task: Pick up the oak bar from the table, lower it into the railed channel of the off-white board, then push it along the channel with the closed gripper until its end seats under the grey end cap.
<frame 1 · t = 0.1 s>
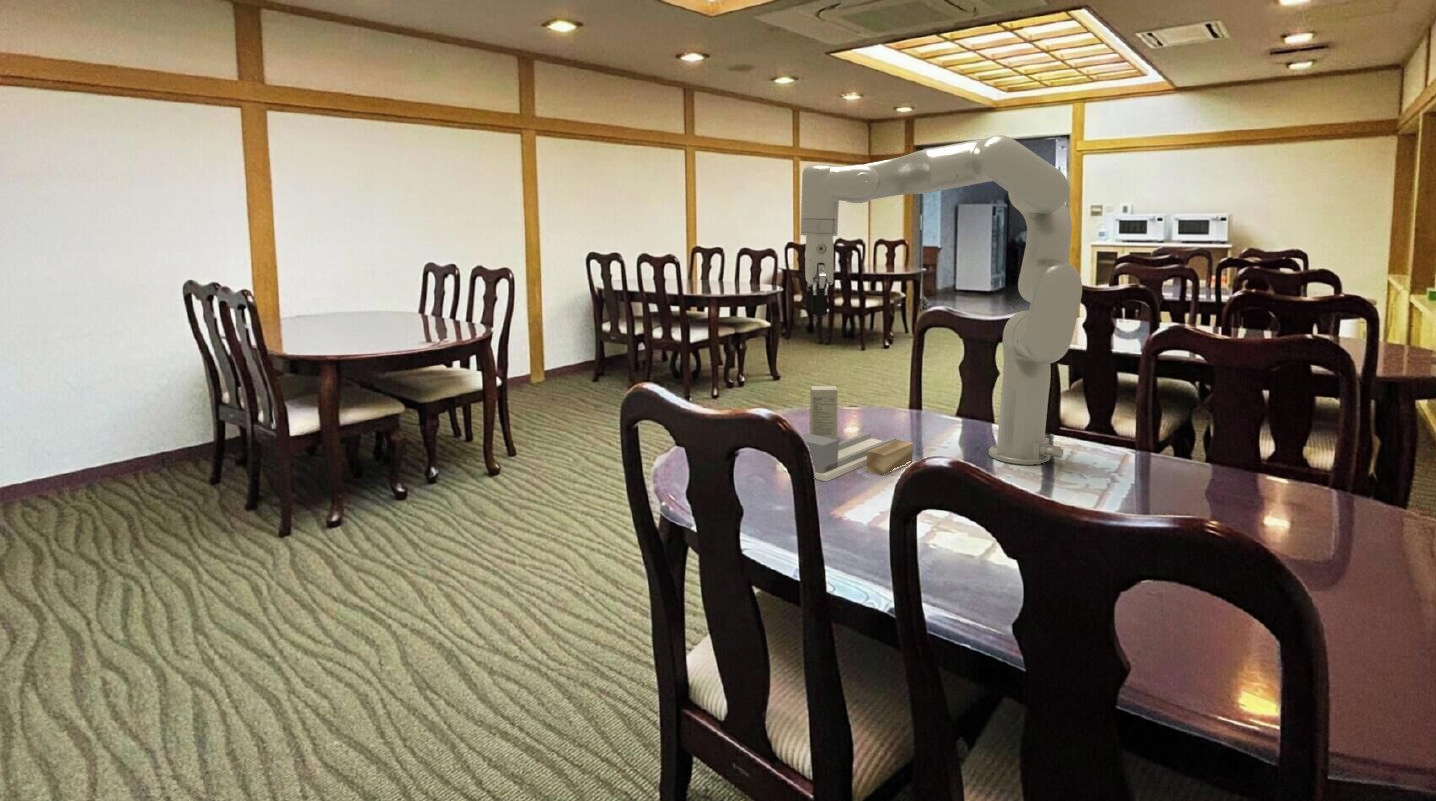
hand: (816, 311, 178), 31 cm above the table, tool pointing down, fingers open, 9 cm apart
board: (845, 460, 182), on the table
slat: (889, 468, 178), on the table
skincare box: (822, 439, 199), on the table
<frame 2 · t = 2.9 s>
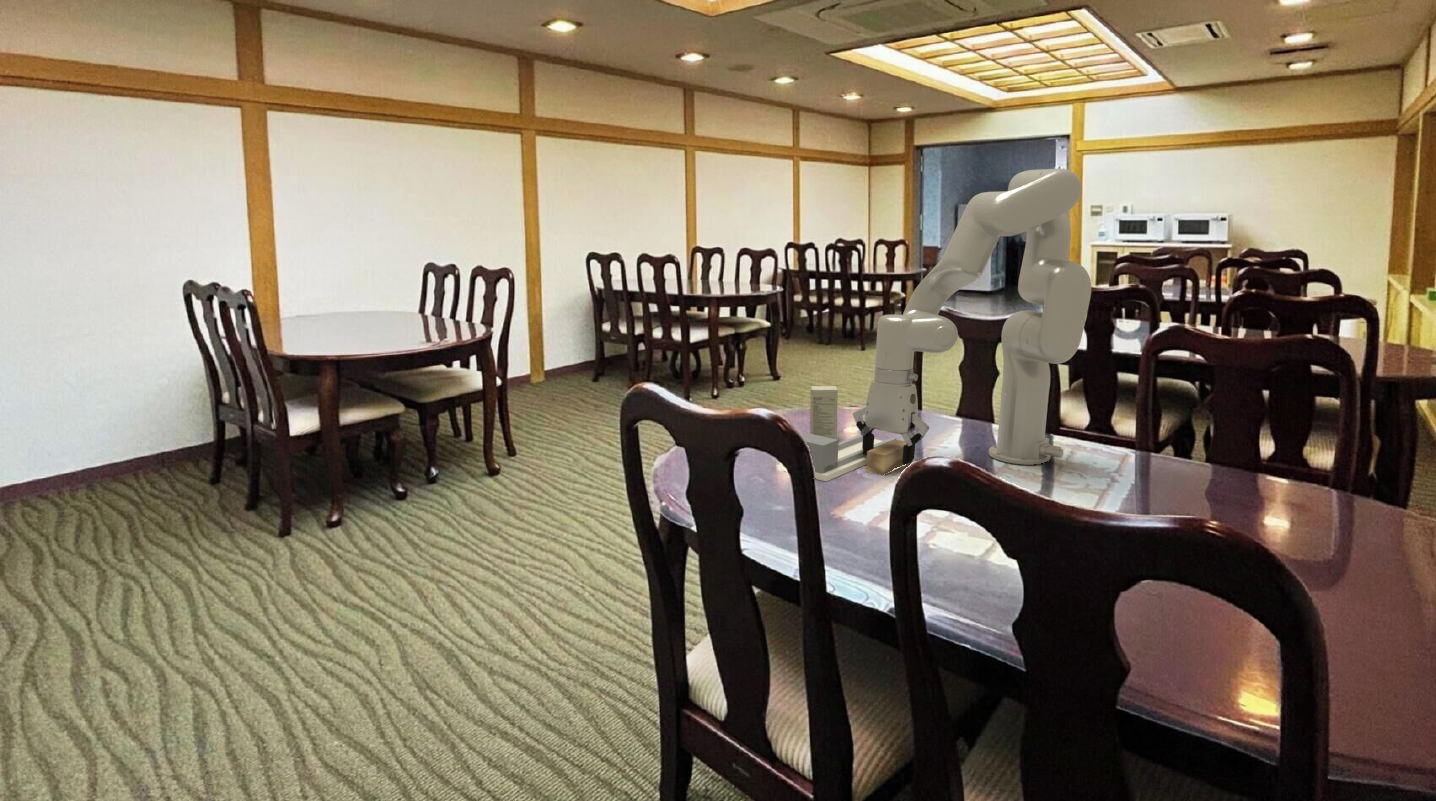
hand: (887, 458, 177), 2 cm above the table, tool pointing down, fingers open, 8 cm apart
nothing on the table moved.
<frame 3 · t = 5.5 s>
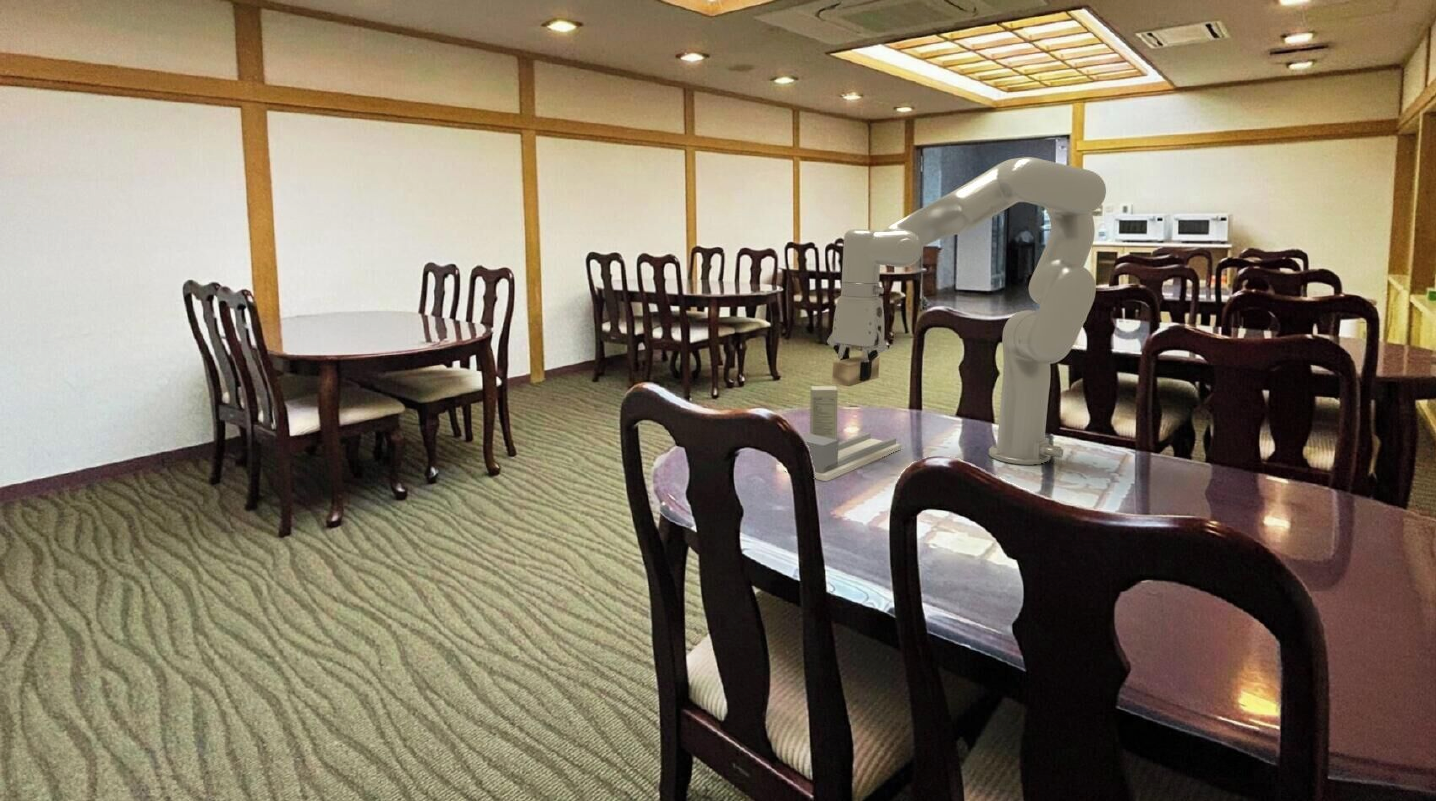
hand: (855, 377, 179), 18 cm above the table, tool pointing down, fingers closed on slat, 4 cm apart
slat: (855, 380, 180), point 17 cm above the table, touching gripper
everything else where it was.
when the fingers open (3 cm above the table, at t = 7.5 s): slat drops 1 cm, resting on board.
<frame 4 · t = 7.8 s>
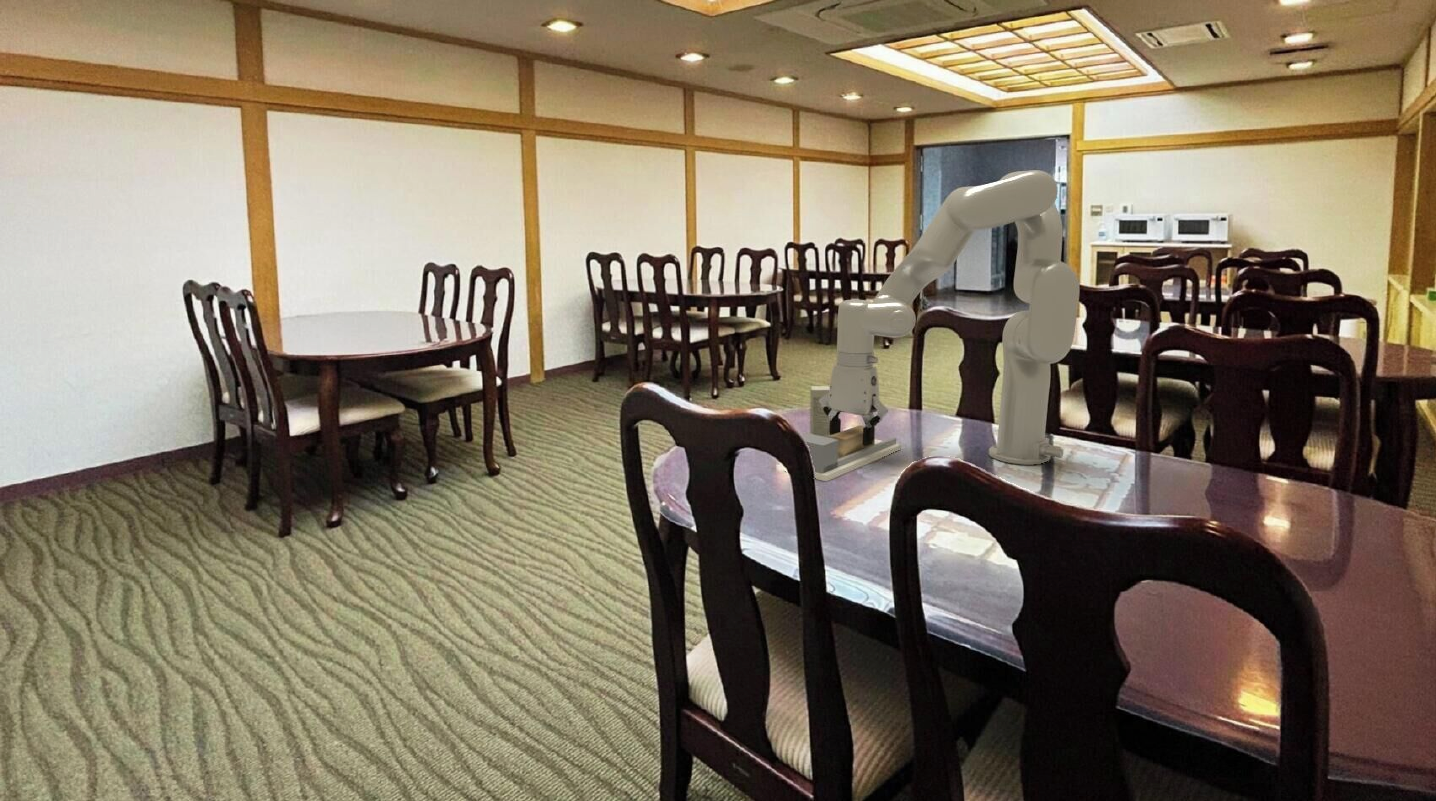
hand: (851, 440, 183), 4 cm above the table, tool pointing down, fingers open, 7 cm apart
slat: (851, 452, 184), point 1 cm above the table, touching board
everything else where it was.
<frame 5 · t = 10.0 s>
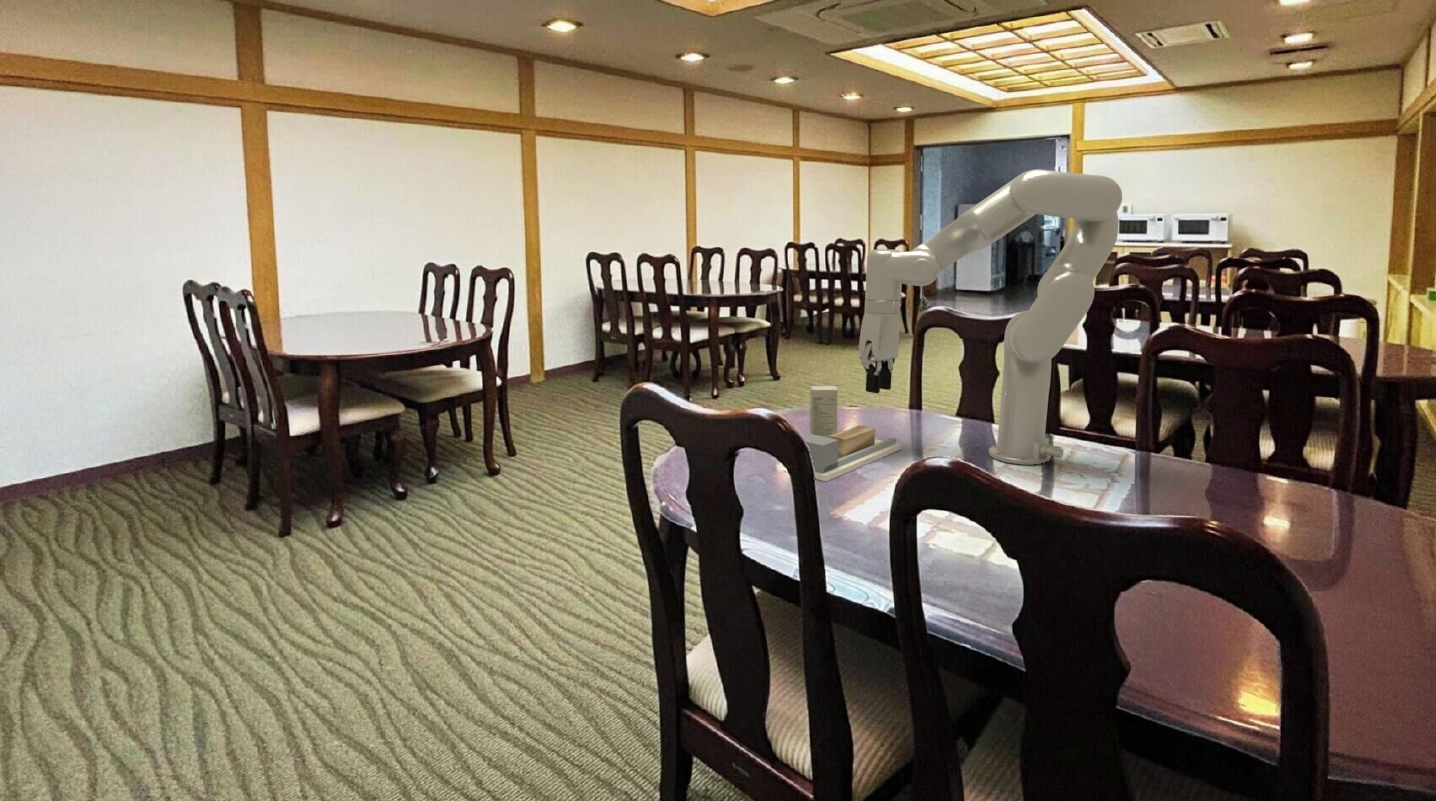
hand: (878, 389, 188), 13 cm above the table, tool pointing down, fingers open, 4 cm apart
nothing on the table moved.
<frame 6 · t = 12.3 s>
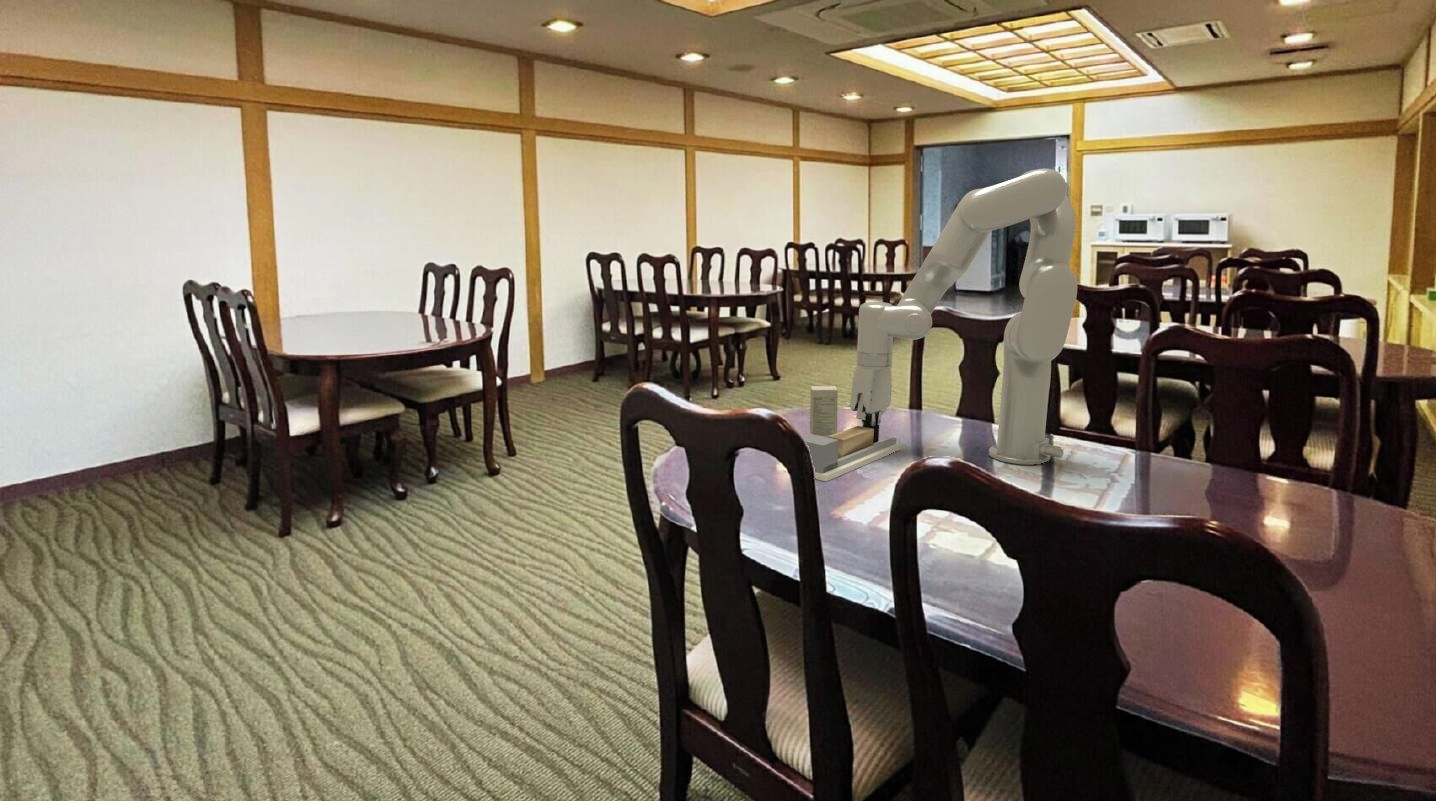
hand: (870, 441, 189), 2 cm above the table, tool pointing down, fingers closed
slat: (850, 452, 183), point 1 cm above the table, touching gripper
everything else where it was.
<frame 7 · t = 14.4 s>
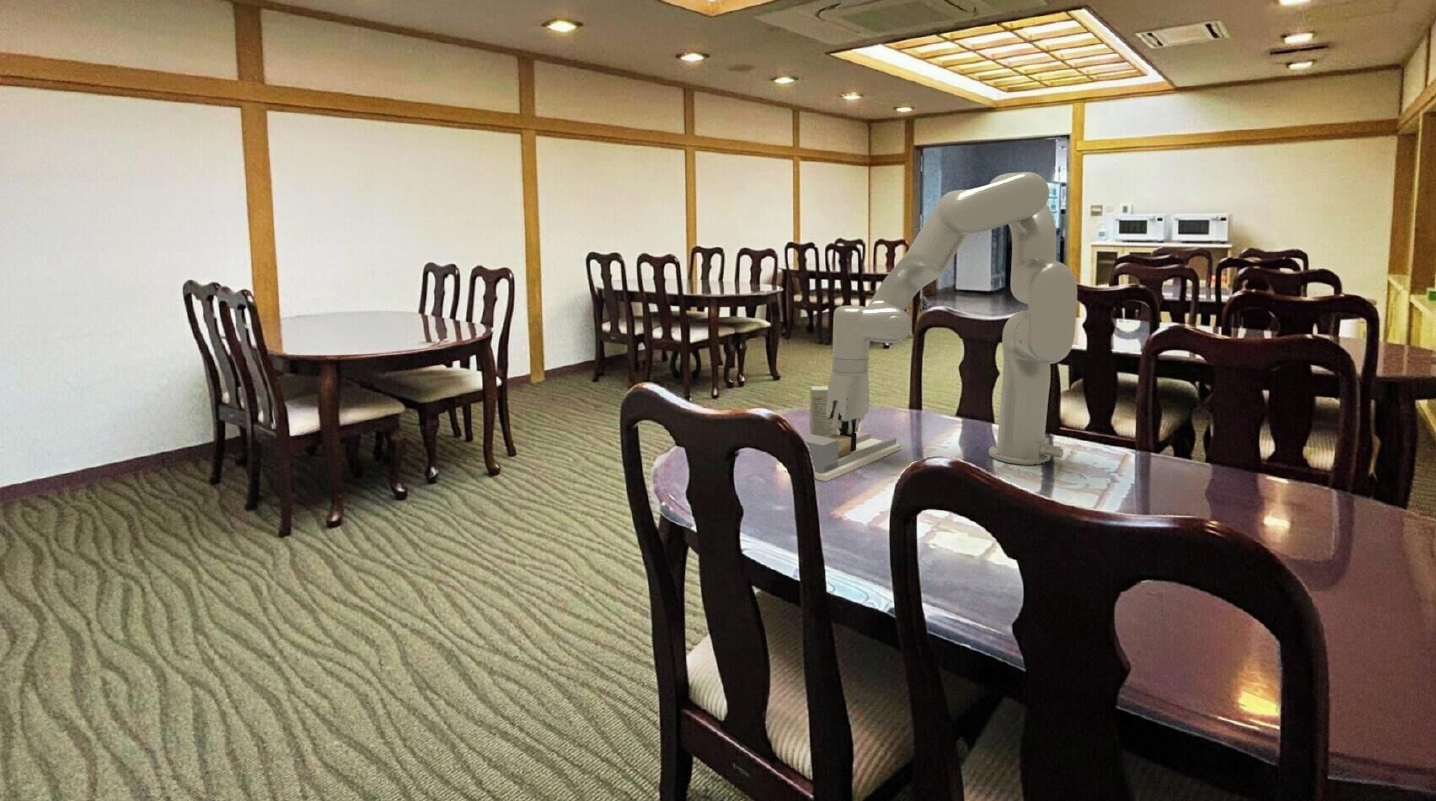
hand: (847, 450, 182), 2 cm above the table, tool pointing down, fingers closed
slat: (826, 462, 176), point 1 cm above the table, touching board, gripper
everything else where it was.
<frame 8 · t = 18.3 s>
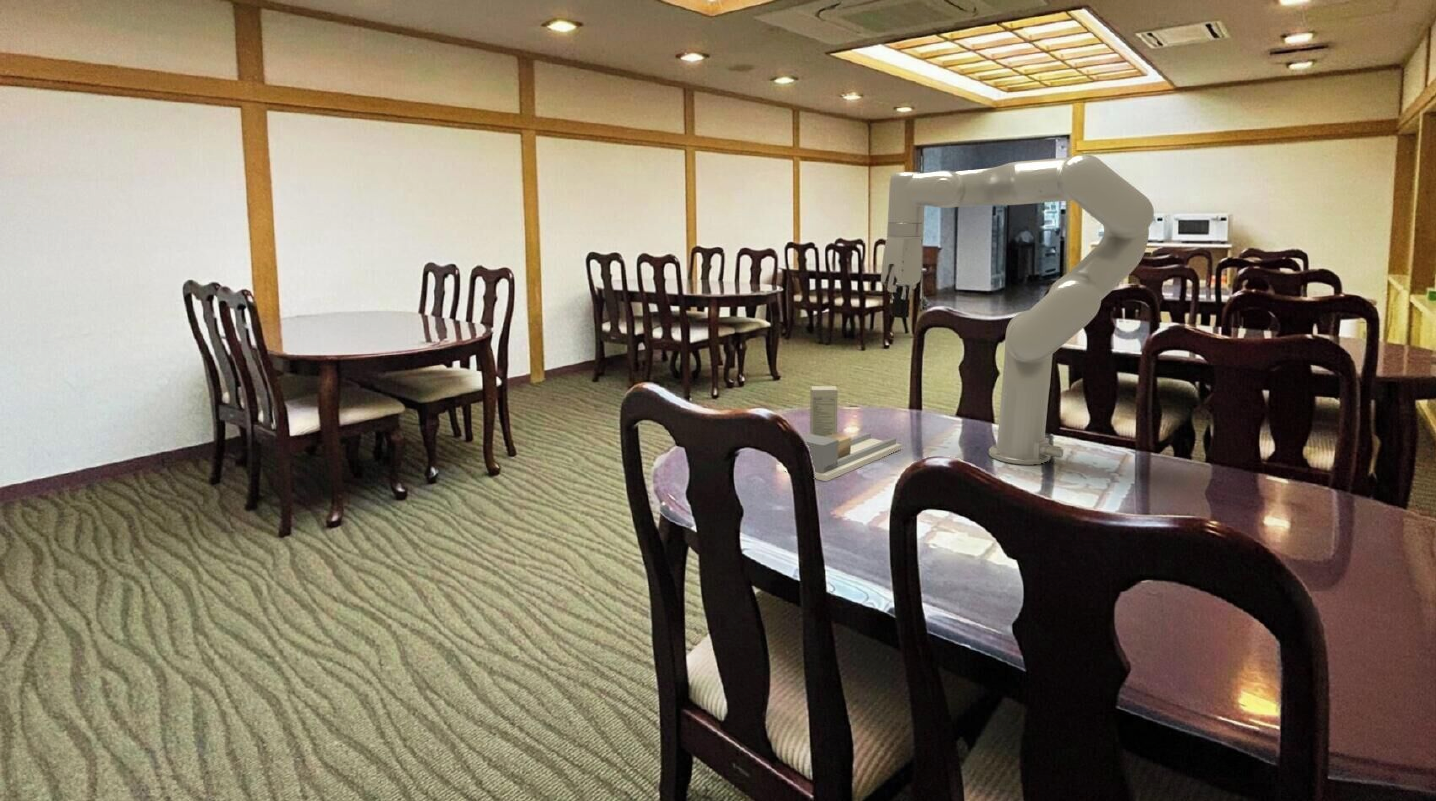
hand: (900, 317, 187), 29 cm above the table, tool pointing down, fingers closed
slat: (826, 462, 176), point 1 cm above the table, touching board
everything else where it was.
at the end: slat 0.2 cm from the target spot on the board, point 1.2 cm above the board's base; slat tilted 0° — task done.
